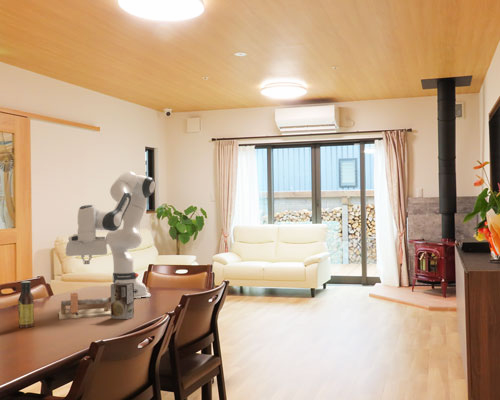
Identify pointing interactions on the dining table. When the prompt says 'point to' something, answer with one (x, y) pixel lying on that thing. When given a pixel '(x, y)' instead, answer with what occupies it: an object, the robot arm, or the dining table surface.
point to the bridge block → (74, 302)
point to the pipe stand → (88, 312)
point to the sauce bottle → (25, 306)
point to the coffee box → (122, 300)
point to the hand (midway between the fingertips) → (86, 264)
